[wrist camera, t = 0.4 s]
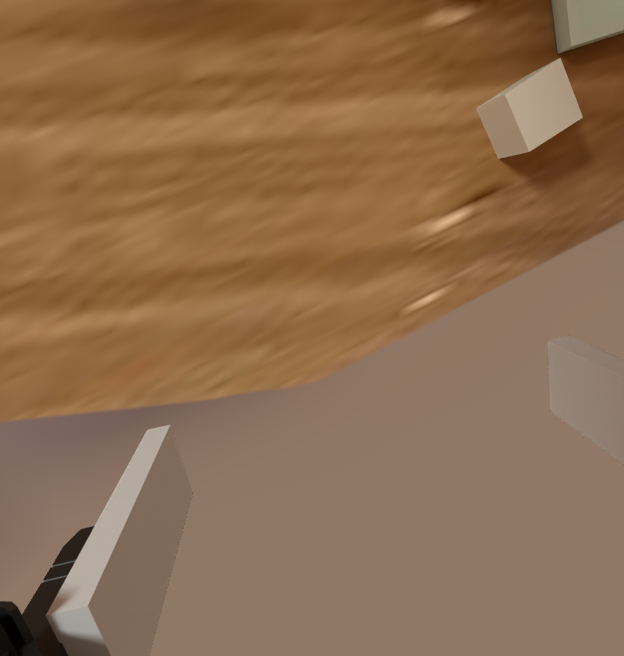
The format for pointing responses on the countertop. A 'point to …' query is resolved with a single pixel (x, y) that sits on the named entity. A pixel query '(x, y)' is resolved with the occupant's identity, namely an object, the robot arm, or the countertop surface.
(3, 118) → the countertop surface
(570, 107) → the cream block
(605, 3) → the tray
